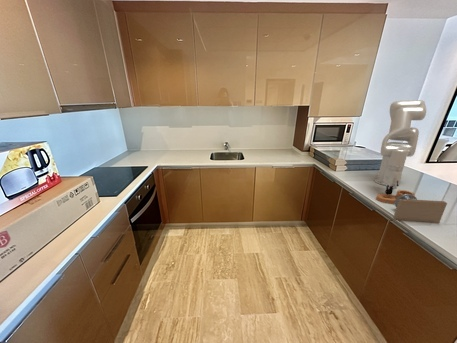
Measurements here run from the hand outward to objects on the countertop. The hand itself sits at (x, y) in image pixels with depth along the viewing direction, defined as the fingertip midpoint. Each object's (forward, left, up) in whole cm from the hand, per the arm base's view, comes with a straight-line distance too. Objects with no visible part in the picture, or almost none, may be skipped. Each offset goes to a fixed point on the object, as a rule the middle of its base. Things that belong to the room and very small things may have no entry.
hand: (388, 193), depth 128 cm
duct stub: (+21, 0, -2) cm, 21 cm away
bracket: (+6, +1, -3) cm, 7 cm away
